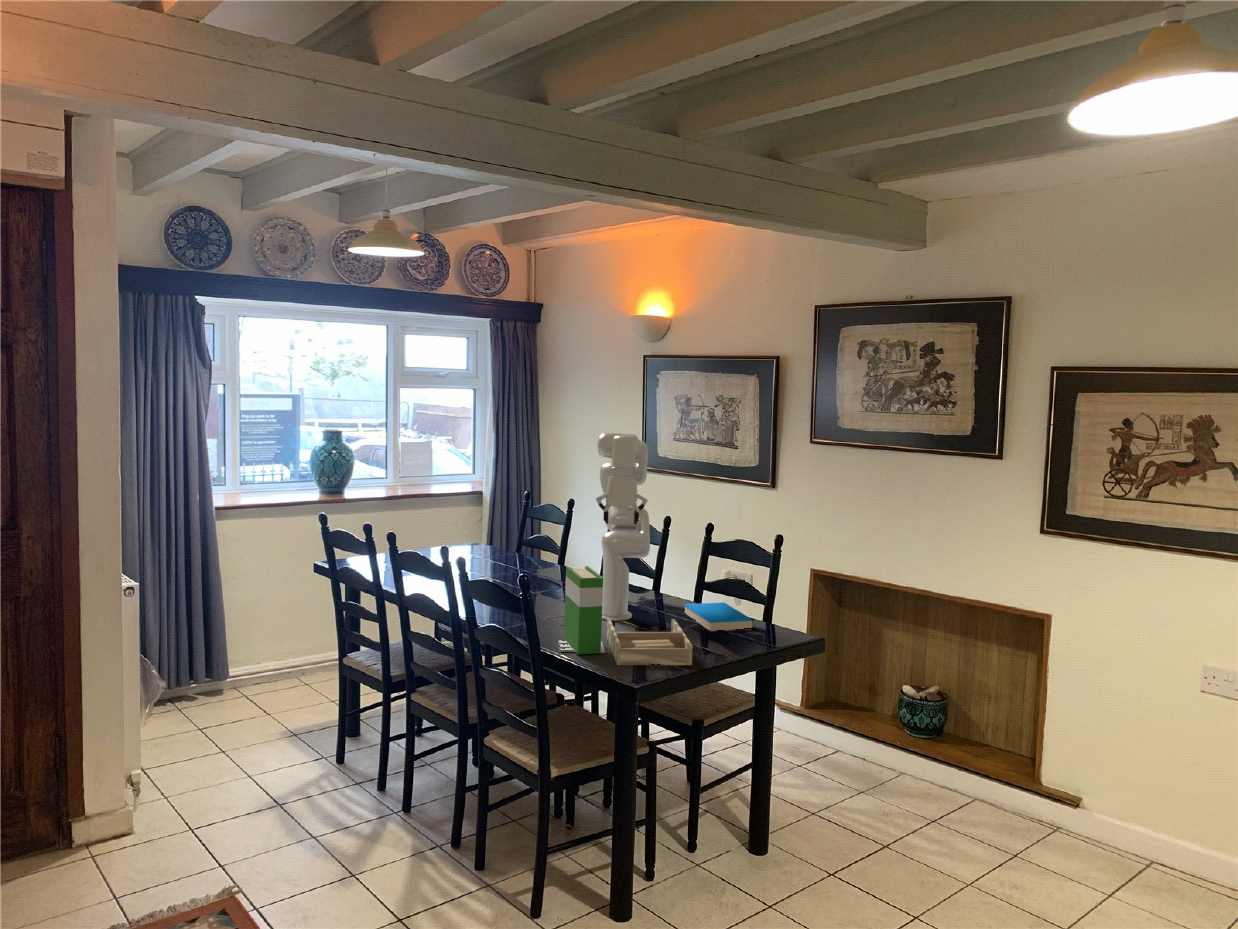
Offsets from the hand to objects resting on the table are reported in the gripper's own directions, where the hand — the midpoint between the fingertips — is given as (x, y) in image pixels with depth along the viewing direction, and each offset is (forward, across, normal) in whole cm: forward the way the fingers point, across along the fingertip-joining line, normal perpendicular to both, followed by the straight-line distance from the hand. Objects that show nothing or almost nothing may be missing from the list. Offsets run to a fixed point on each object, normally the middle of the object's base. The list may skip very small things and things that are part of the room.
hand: (620, 523), depth 302 cm
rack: (+38, -8, +16) cm, 42 cm away
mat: (+38, +13, +14) cm, 43 cm away
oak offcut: (+36, -8, +27) cm, 46 cm away
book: (+39, -40, -19) cm, 59 cm away
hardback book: (+38, +13, +14) cm, 42 cm away
